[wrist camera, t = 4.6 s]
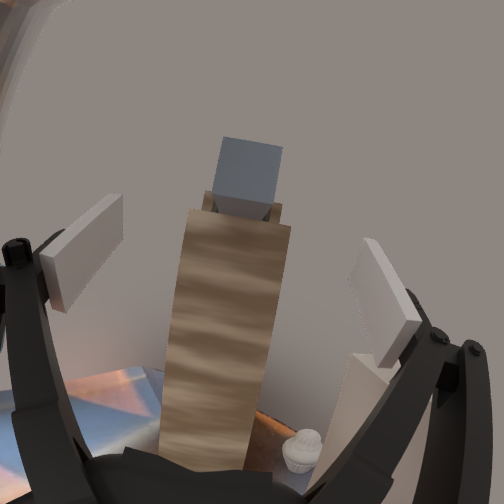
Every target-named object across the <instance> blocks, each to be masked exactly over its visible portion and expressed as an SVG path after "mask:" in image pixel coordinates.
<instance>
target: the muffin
mask: <svg viewBox="0 0 504 504" xmlns="http://www.w3.org/2000/svg"><path fill="white" fill-rule="evenodd" d="M320 440H321V436H320V435H319V434H318V432H316V431H315V430H312V429H303V430H299V431H298V432H297V433H296V435H295V436H293V437H292V438H290V439H288V440H286V441H285V442H284V444H283V446H282V452H283V457H284V460H285V462H286V465H287V468H288V469H289V470H290V471H292V472H294V473H298V474H299V473H300V474H301V473H302V474H303V473H306V472H308V471H309V470H311V469H312V468H313V467H315V466H316V463H317V461H318V458H319V455H320V452H321V450H322V447H323V445H322V443H321V441H320Z"/></svg>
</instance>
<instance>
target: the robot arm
mask: <svg viewBox="0 0 504 504" xmlns="http://www.w3.org/2000/svg"><path fill="white" fill-rule="evenodd" d="M69 1H71V0H0V152H1V147H2V143H3V139H4V135H5V131H6V128H7V124H8V121H9V117H10V114H11V111H12V107H13V104H14V101H15V98H16V95H17V92H18V90H19V87H20V84H21V81H22V79H23V76H24V74H25V71H26V69H27V66H28V63H29V61H30V59H31V57H32V54H33V52H34V50H35V48H36V45H37V43H38V41H39V39H40V37H41V35H42V33H43V31H44V29H45V27H46V25H47V23H48V21H49V19H50V17H51V16H52V14H53V12H54V11H55V10H56V9H57V8H58V7H59V6H61V5H63V4H65V3H67V2H69ZM122 211H123V195H122V194H115V193H110V194H108V195H107V196H106V197H105V198H103V199H102V200H101V201H100V202H98V203H97V204H96V205H95V206H93V207H92V208H91V209H89V210H88V211H87V212H86V213H85V214H83V215H82V216H81V217H80V218H79V219H78V220H76V221H75V222H74V223H73V224H72V225H71V226H69V227H68V228H67V229H62V230H60V231H58V232H56V233H54V234H53V235H52V236H51V237H50V238H49V239H48V240H46V241H45V242H44V244H42V245H41V246H39V248H37V249H36V250H35V251H34V252H33V253H32V250H31V245H30V241H29V240H28V239H26V238H16V239H12V240H10V241H8V242H6V243H5V244H4V245H3V247H2V253H3V257H4V260H5V265H6V266H4V265H1V264H0V352H1V351H2V348H3V343H4V337H5V327H6V335H7V336H6V337H7V350H8V360H9V369H10V376H11V383H12V390H13V396H14V401H15V407H16V410H15V411H13V412H12V415H11V417H12V424H13V428H14V433H15V437H16V441H17V445H18V449H19V452H20V456H21V459H22V463H23V466H24V469H25V473H26V476H27V479H28V482H29V484H30V487H31V490H32V491H31V492H29V493H27V494H25V495H23V496H21V497H19V498H16V499H14V500H12V501H10V502H8V503H6V504H381V503H382V502H383V500H384V498H385V497H386V495H387V494H388V492H389V490H390V489H391V487H392V485H393V483H394V479H393V478H391V477H392V474H393V472H394V470H395V469H396V467H397V465H398V463H399V462H400V460H401V458H402V456H403V454H404V452H405V451H406V449H407V447H408V445H409V443H410V441H411V439H412V437H413V435H414V433H415V431H416V429H417V427H418V425H419V423H420V421H421V419H422V416H423V414H424V412H425V410H426V407H427V405H428V403H429V400H430V398H431V396H432V404H431V412H430V420H429V427H428V433H427V439H426V445H425V450H424V456H423V461H422V465H421V470H420V474H419V479H418V483H417V487H416V491H415V495H414V498H413V502H412V504H489V496H490V487H491V474H492V454H493V452H492V451H493V425H492V404H491V392H490V380H489V372H488V364H487V357H486V353H485V350H484V349H483V347H482V346H481V345H480V344H479V343H478V342H476V341H473V340H466V341H465V342H464V344H463V345H462V346H461V347H459V346H456V345H453V344H450V340H449V337H448V336H447V335H446V333H444V332H443V331H442V330H440V329H438V328H436V327H432V326H431V323H430V321H429V319H428V318H427V316H426V314H425V312H424V310H423V308H422V307H421V305H420V304H419V301H418V300H417V298H416V296H415V295H414V294H413V293H412V292H411V291H410V290H409V289H405V288H404V286H403V284H402V283H401V281H400V279H399V277H398V276H397V274H396V272H395V270H394V269H393V267H392V265H391V264H390V262H389V260H388V259H387V257H386V255H385V254H384V252H383V250H382V249H381V247H380V245H379V244H378V242H377V241H376V240H373V239H369V238H363V241H362V244H361V247H360V249H359V252H358V255H357V258H356V260H355V263H354V265H353V268H352V271H351V273H350V276H349V278H348V281H349V283H350V286H351V289H352V292H353V295H354V298H355V301H356V304H357V307H358V309H359V312H360V316H361V319H362V322H363V325H364V328H365V331H366V334H367V337H368V340H369V344H370V347H371V350H372V353H373V357H374V360H375V364H376V367H377V368H388V369H392V368H393V366H394V365H395V363H396V362H397V360H398V359H399V362H400V365H401V367H400V368H399V369H398V371H397V372H396V374H395V375H394V376H393V378H392V379H391V380H390V382H389V383H390V384H389V385H388V387H387V389H386V390H385V392H384V393H383V395H382V397H381V398H380V400H379V401H378V403H377V404H376V406H375V407H374V409H373V410H372V412H371V413H370V414H369V416H368V417H367V419H366V420H365V422H364V423H363V424H362V426H361V427H360V429H359V430H358V431H357V433H356V434H355V435H354V437H353V438H352V439H351V441H350V442H349V443H348V445H347V446H346V447H345V448H344V450H343V451H342V452H341V453H340V455H339V456H338V457H337V458H336V460H335V461H334V462H333V463H332V465H331V466H330V467H329V468H328V469H327V470H326V472H325V473H324V474H323V475H322V476H321V477H320V479H319V480H318V481H317V482H316V483H315V484H314V485H313V486H312V487H311V488H310V489H309V490H308V491H307V492H306V493H305V494H303V495H302V496H301V495H300V494H299V493H297V492H296V491H294V490H293V489H291V488H289V487H288V486H286V485H283V484H281V483H278V482H276V481H272V473H271V472H257V471H246V470H237V469H235V470H224V471H211V472H195V471H192V470H190V469H187V468H185V467H183V466H181V465H178V464H176V463H174V462H172V461H170V460H168V459H166V458H163V457H161V456H159V455H155V454H151V453H147V452H143V451H139V450H136V449H132V448H129V447H126V446H125V449H124V452H123V454H108V455H102V456H98V457H94V458H93V457H92V455H91V453H90V451H89V449H88V447H87V445H86V443H85V441H84V439H83V436H82V434H81V431H80V429H79V426H78V424H77V421H76V418H75V415H74V413H73V410H72V407H71V404H70V401H69V398H68V395H67V392H66V389H65V385H64V382H63V379H62V375H61V372H60V368H59V365H58V361H57V357H56V353H55V349H54V345H53V340H52V336H51V332H50V327H49V321H48V317H47V311H46V308H45V303H46V302H47V300H48V299H50V303H51V307H52V309H54V310H57V311H60V312H63V313H67V311H68V310H69V308H70V307H71V305H72V304H73V303H74V301H75V300H76V299H77V297H78V296H79V295H80V293H81V292H82V291H83V289H84V288H85V287H86V285H87V284H88V283H89V282H90V280H91V279H92V278H93V276H94V275H95V274H96V272H97V271H98V270H99V269H100V267H101V266H102V265H103V264H104V262H105V261H106V260H107V259H108V257H109V256H110V255H111V254H112V252H113V251H114V250H115V249H116V248H117V246H118V245H119V244H120V243H121V242H122V240H123V212H122ZM432 393H433V394H432Z"/></svg>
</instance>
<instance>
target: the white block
mask: <svg viewBox="0 0 504 504" xmlns="http://www.w3.org/2000/svg"><path fill="white" fill-rule="evenodd" d="M400 367H401V365H400V362H399V359H398V360H397V362H396V363H395V365H394V366H393V368H392V369H388V368H377V367H376V364H375V360H374V357H373V354H360V353H350V357H349V361H348V365H347V368H346V372H345V376H344V380H343V383H342V387H341V390H340V394H339V397H338V401H337V404H336V407H335V410H334V414H333V417H332V420H331V423H330V426H329V429H328V432H327V435H326V438H325V441H324V444H323V447H322V450H321V452H320V455H319V458H318V461H317V463H316V466H315V469H314V471H313V474H312V476H311V479H310V481H309V484H308V486H307V489H306V491H305V493H306V492H307V491H308V490H309V489H310V488H311V487H312V486H313V485H314V484H315V483H316V482H317V481H318V480H319V479H320V477H321V476H322V475H323V474H324V473H325V472H326V470H327V469H328V468H329V467H330V466H331V465H332V463H333V462H334V461H335V460H336V458H337V457H338V456H339V455H340V453H341V452H342V451H343V450H344V448H345V447H346V446H347V445H348V443H349V442H350V441H351V439H352V438H353V437H354V435H355V434H356V433H357V431H358V430H359V429H360V427H361V426H362V424H363V423H364V422H365V420H366V419H367V417H368V416H369V414H370V413H371V412H372V410H373V409H374V407H375V406H376V404H377V403H378V401H379V400H380V398H381V397H382V395H383V393H384V392H385V390H386V389H387V387H388V385H389V384H390V383H389V382H390V380H391V379H392V378H393V376H394V375H395V374H396V372H397V371H398V369H399V368H400ZM432 394H433V393H432ZM492 395H493V393H491V398H492ZM431 404H432V396H431V398H430V400H429V403H428V405H427V407H426V410H425V412H424V414H423V416H422V419H421V421H420V423H419V425H418V427H417V429H416V431H415V433H414V435H413V437H412V439H411V441H410V443H409V445H408V447H407V449H406V451H405V452H404V454H403V456H402V458H401V460H400V462H399V463H398V465H397V467H396V469H395V470H394V472H393V474H392V477H391V478H393V479H394V483H393V485H392V487H391V489H390V490H389V492H388V494H387V495H386V497H385V498H384V500H383V502H382V503H381V504H412V502H413V498H414V495H415V491H416V487H417V483H418V479H419V474H420V470H421V465H422V461H423V456H424V450H425V445H426V439H427V433H428V427H429V420H430V412H431Z"/></svg>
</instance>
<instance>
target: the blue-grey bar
mask: <svg viewBox="0 0 504 504" xmlns="http://www.w3.org/2000/svg"><path fill="white" fill-rule="evenodd" d="M282 149H283V147H279V146H275V145H269V144H264V143H259V142H253V141H247V140H241V139H235V138H229V137H223V141H222V146H221V150H220V155H219V159H218V164H217V169H216V174H215V179H214V184H213V189H212V193H211V194H212V196H213V199H214V201H215V203H216V206H217V208H218V210H219V213H220V214H225V215H231V216H237V217H243V218H248V219H254V220H259V221H261V220H262V219H263V218H264V216H265V215H266V214H267V212H268V211H269V210H270V208H271V207H272V206H273V203H274V196H275V191H276V184H277V178H278V173H279V167H280V161H281V154H282Z"/></svg>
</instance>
